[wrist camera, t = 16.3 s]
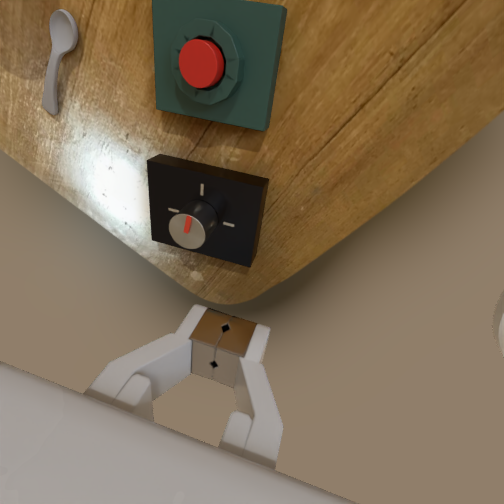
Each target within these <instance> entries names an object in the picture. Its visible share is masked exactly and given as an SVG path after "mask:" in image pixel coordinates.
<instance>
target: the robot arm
mask: <svg viewBox="0 0 504 504" xmlns="http://www.w3.org/2000/svg"><path fill="white" fill-rule="evenodd" d="M269 333H270V327H267V326H264V325H261V324H257V323H255V322H251V321H248V320H245V319H242V318H238V317H235V316H231V315H227V314H225V313H222V312H219V311H216V310H213V309H211V308H207V307H204V306H201V305H198V304H195V305H194V306H193V307H192V308H191V310H190V311H189V313H188V314H187V316H186V317H185V319H184V320H183V322H182V323H181V325H180V326H179V328H178V329H177V331H176V332H175V333H174V334H173V333H169V334H167V335H165V336H163V337H161V338H159V339H157V340H155V341H152V342H150V343H148V344H146V345H144V346H142V347H140V348H138V349H136V350H133V351H132V352H129V353H127V354H125V355H123V356H121V357H119V358H117V359H115V360H113V361H110V362H109V363H108V365H107V366H106V367H105V368H104V369H103V371H102V372H101V373H100V374H99V375H98V377H97V378H96V379H95V380H94V382H93V383H92V384H91V385H90V386H89V388H88V389H87V390H86V391H85V392H84V393H83V394H82V393H79V392H77V391H74V390H72V389H69V388H67V387H64V386H61V385H59V384H57V383H54V382H51V381H49V380H47V379H44V378H42V377H39V376H36V375H34V374H31V373H29V372H26V371H24V370H21V369H19V368H16V367H14V366H11V365H9V364H6V363H4V362H1V361H0V504H359V503H356V502H353V501H351V500H348V499H346V498H343V497H341V496H338V495H336V494H333V493H331V492H328V491H326V490H323V489H321V488H318V487H316V486H313V485H311V484H308V483H306V482H303V481H301V480H298V479H296V478H293V477H290V476H288V475H286V474H283V473H280V472H277V471H275V466H276V461H277V456H278V451H279V447H280V442H281V437H282V432H283V424H282V421H281V418H280V415H279V412H278V409H277V405H276V402H275V399H274V397H273V393H272V391H271V387H270V384H269V381H268V378H267V375H266V372H265V369H264V366H263V364H262V360H263V356H264V353H265V349H266V345H267V341H268V337H269ZM191 373H193V374H196V375H200V376H202V377H205V378H208V379H211V380H214V381H217V382H219V383H222V384H224V385H227V386H229V387H232V388H234V393H235V399H236V405H237V410H236V411H234V412H232V413H231V415H230V418H229V420H228V423H227V425H226V428H225V431H224V433H223V436H222V439H221V441H220V444H219V446H218V447H215V446H213V445H210V444H208V443H205V442H203V441H200V440H198V439H195V438H193V437H190V436H187V435H185V434H183V433H180V432H178V431H175V430H172V429H170V428H167V427H165V426H162V425H160V424H157V423H155V422H154V417H153V407H152V401H153V400H155V399H156V398H158V397H159V396H161V395H162V394H163V393H165V392H166V391H168V390H169V389H170V388H172V387H173V386H175V385H176V384H177V383H179V382H180V381H182V380H183V379H184V378H186V377H187V376H189V375H190V374H191Z"/></svg>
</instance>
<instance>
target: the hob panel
mask: <svg viewBox="0 0 504 504" xmlns="http://www.w3.org/2000/svg"><path fill="white" fill-rule="evenodd" d="M147 170H148V186H149V203H150V219H151V235H152V240H153V241H157V242H160V243H164V244H168V245H171V246H175V247H179V248H182V249H186V250H189V251H193V252H197V253H200V254H204V255H207V256H211V257H215V258H218V259H222V260H225V261H229V262H233V263H236V264H240V265H243V266H247V267H251V265H252V263H253V261H254V259H255V256H256V253H257V247H258V241H259V236H260V230H261V224H262V218H263V212H264V207H265V201H266V195H267V189H268V184H269V179H268V178H263V177H259V176H255V175H250V174H246V173H242V172H237V171H233V170H229V169H224V168H220V167H215V166H211V165H207V164H202V163H198V162H194V161H189V160H185V159H181V158H176V157H172V156H168V155H163V154H159V155H157V156H155V157H153V158H151V159H148V160H147ZM195 200H200V201H204V202H206V203H208V204H209V205H211V206H212V207H213V209H214V210H215V212H216V214H217V217H218V224H217V227H216V228H215V229H214V231H213V232H212V233H211V234H210V236H209V237H208V238H207V239H206V241H205V242H204V243H203V244H202V245H201V246H200V247H198V248H196V249H188V248H184V247H182V246H180V245H179V244H178V243H176V242H175V240H174V239H173V238H172V236H171V234H170V231H169V223H170V220H171V219H172V218H173V217H174V216H175V215H176V214H177V213H178V212H179V211H180V210H181V209H183V208H184V207H185V206H186V205H187V204H188V203H190V202H191V201H195Z"/></svg>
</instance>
